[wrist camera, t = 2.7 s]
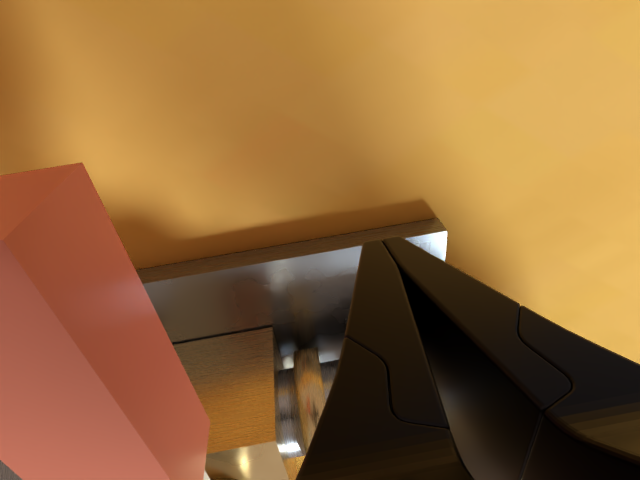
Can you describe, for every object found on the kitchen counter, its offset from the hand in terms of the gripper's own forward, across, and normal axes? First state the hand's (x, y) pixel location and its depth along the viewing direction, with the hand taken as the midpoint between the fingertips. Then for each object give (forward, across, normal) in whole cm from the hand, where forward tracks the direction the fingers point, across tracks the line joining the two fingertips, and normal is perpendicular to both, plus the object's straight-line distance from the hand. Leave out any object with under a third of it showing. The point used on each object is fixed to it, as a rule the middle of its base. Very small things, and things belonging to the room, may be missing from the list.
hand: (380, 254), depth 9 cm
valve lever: (+1, +7, +5) cm, 9 cm away
